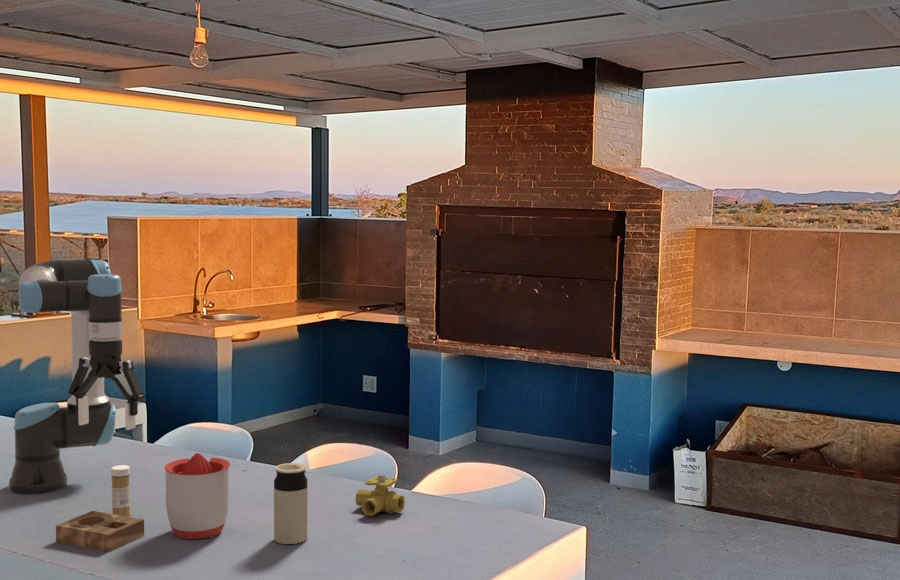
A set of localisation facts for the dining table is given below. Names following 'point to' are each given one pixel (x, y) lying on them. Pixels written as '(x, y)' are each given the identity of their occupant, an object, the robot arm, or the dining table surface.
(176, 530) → the citrus juicer
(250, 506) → the dining table surface
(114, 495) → the sprinkles bottle
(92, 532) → the socket block
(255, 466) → the dining table surface
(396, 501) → the ball valve
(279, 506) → the travel mug
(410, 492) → the dining table surface
